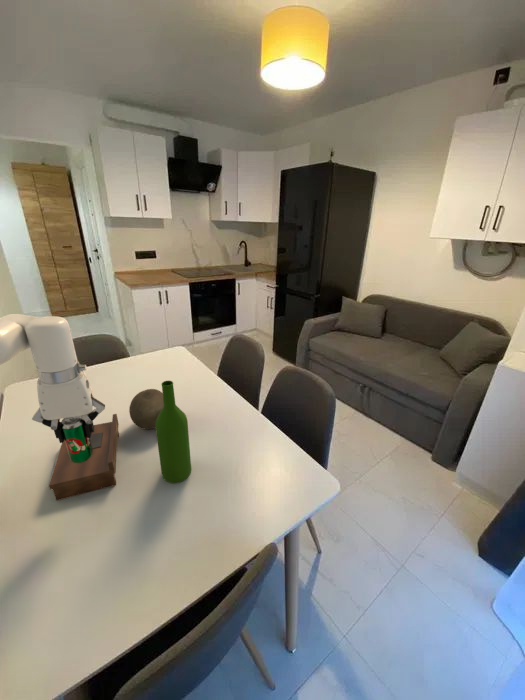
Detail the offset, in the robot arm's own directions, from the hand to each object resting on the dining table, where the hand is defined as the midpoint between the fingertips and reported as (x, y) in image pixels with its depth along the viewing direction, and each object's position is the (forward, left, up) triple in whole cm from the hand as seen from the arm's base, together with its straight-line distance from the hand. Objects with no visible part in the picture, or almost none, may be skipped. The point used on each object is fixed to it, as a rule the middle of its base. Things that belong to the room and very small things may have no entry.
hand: (76, 436), depth 72 cm
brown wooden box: (-2, +16, -23) cm, 28 cm away
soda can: (0, 0, -7) cm, 7 cm away
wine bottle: (+23, +3, -23) cm, 33 cm away
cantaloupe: (+17, +29, -23) cm, 40 cm away
